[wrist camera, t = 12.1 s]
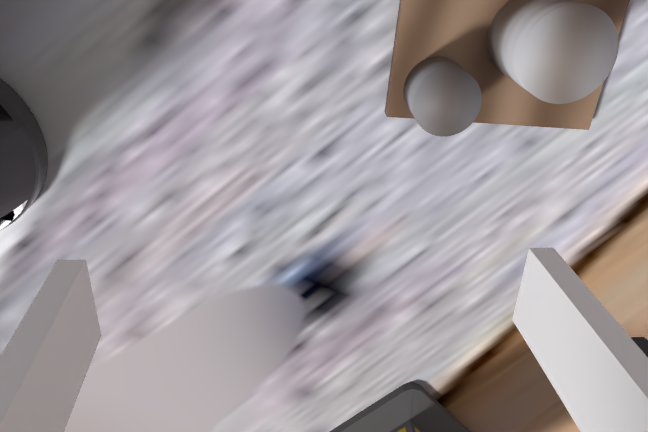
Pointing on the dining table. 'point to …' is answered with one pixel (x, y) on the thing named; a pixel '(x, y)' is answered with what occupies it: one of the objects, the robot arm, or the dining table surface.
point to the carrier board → (470, 52)
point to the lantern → (404, 414)
